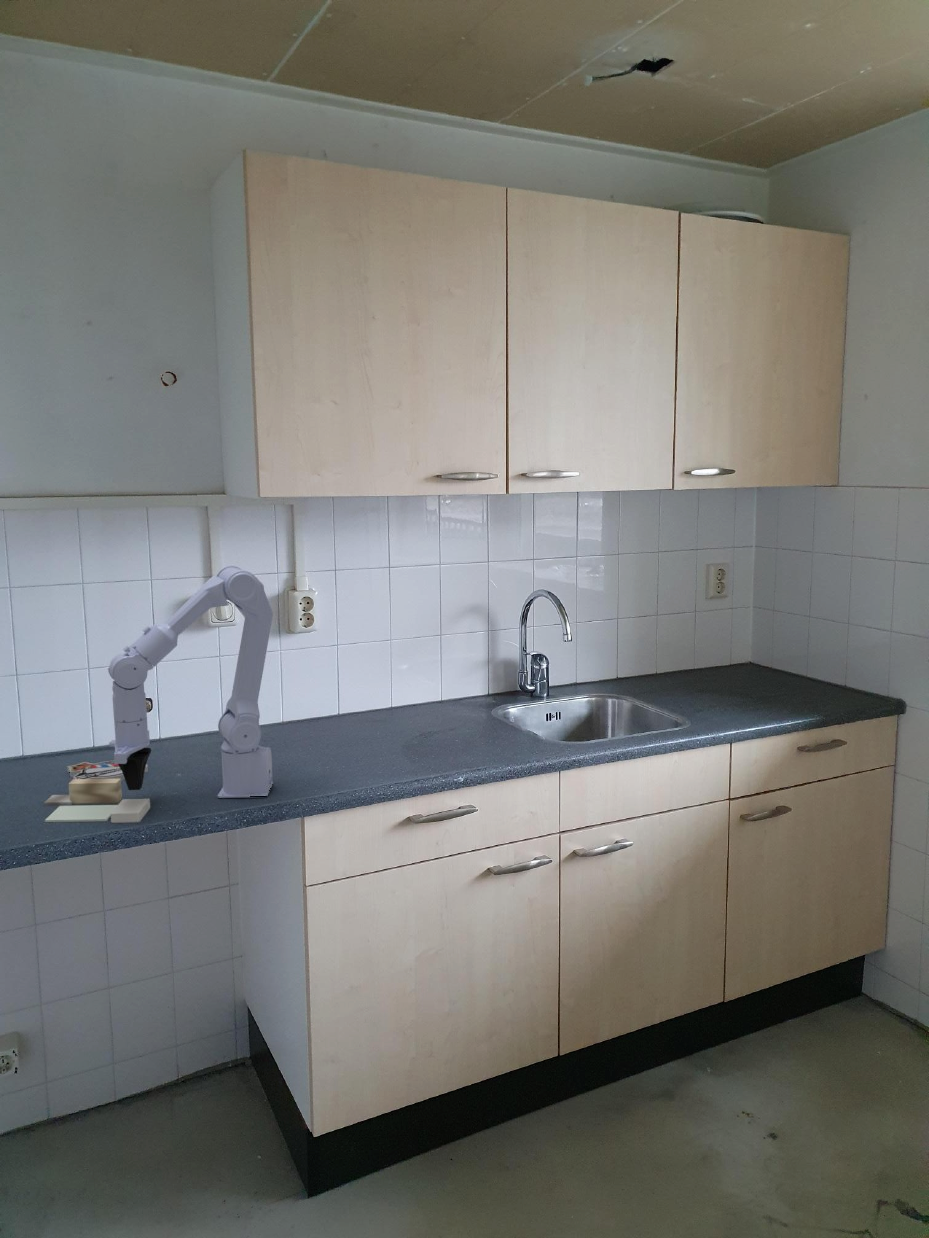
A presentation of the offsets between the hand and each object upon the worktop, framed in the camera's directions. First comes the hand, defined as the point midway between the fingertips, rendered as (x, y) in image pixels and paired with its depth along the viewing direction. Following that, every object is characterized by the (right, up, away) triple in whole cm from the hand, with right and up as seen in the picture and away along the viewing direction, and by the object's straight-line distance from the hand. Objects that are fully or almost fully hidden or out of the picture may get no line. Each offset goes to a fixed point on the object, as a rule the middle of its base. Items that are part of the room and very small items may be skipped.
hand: (135, 788), depth 174 cm
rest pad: (-9, -4, -2) cm, 10 cm away
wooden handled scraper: (-11, -3, +5) cm, 13 cm away
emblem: (-13, -1, +21) cm, 24 cm away
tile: (0, -3, +1) cm, 3 cm away
